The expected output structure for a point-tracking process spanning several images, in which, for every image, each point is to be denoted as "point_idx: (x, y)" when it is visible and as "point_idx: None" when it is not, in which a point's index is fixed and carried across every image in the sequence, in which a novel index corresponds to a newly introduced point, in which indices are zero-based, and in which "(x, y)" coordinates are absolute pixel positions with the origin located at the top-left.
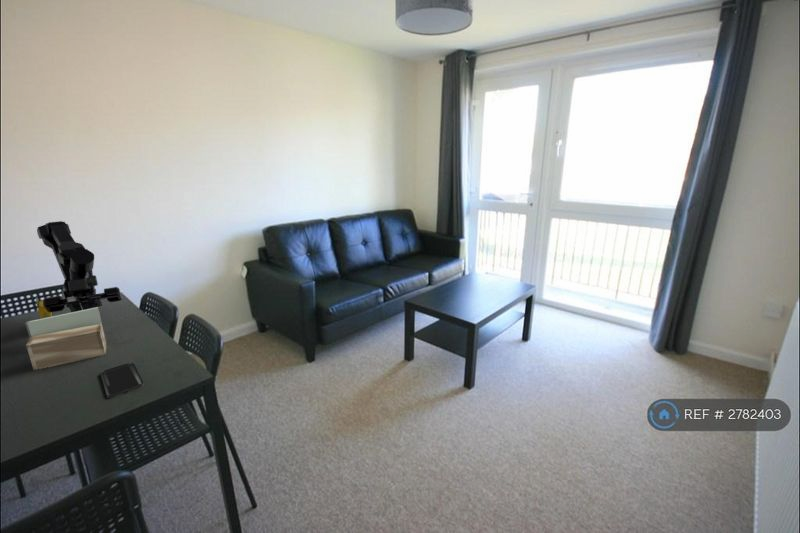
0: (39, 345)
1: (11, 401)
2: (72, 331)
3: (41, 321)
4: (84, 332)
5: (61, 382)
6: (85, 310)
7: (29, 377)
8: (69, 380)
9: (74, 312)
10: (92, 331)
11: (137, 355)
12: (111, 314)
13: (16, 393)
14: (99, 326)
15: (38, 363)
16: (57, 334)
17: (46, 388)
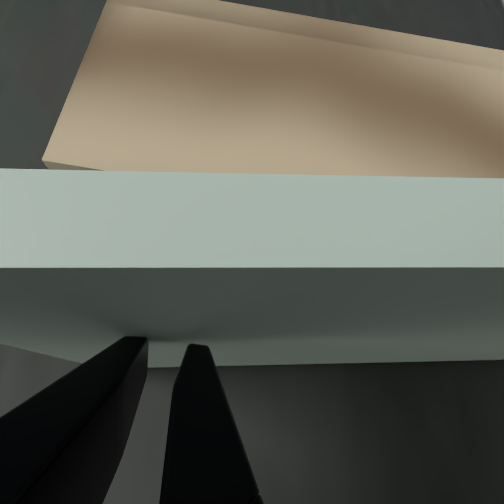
0: None
1: (491, 3)
2: (336, 136)
3: None
4: (234, 40)
5: (350, 20)
6: (90, 179)
7: None
8: (322, 15)
9: (354, 214)
10: (168, 17)
11: (29, 41)
12: None
13: (493, 44)
14: (81, 94)
15: None
16: (468, 151)
17: (396, 12)
